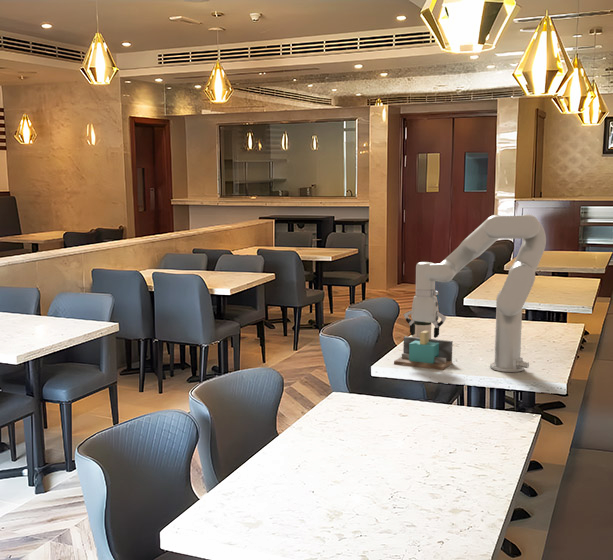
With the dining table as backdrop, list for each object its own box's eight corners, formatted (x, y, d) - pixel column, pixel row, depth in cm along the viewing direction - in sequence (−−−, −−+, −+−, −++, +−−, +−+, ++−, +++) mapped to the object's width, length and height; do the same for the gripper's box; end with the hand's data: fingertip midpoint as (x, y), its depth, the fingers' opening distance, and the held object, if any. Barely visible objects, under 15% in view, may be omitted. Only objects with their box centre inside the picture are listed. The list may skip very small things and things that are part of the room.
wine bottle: (425, 355, 295) (427, 284, 291) (408, 352, 300) (409, 283, 296) (434, 352, 302) (436, 282, 298) (417, 349, 307) (418, 281, 303)
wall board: (451, 363, 282) (452, 341, 281) (442, 369, 271) (443, 346, 270) (404, 357, 291) (405, 336, 290) (394, 363, 281) (394, 341, 280)
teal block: (438, 359, 282) (439, 331, 281) (433, 363, 276) (433, 334, 275) (415, 357, 287) (415, 329, 286) (409, 360, 281) (409, 332, 280)
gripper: (449, 293, 278) (448, 336, 280) (407, 290, 286) (406, 332, 288) (443, 296, 271) (442, 339, 273) (401, 293, 279) (400, 335, 281)
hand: (424, 336), depth 281 cm, fingers open, 9 cm apart
